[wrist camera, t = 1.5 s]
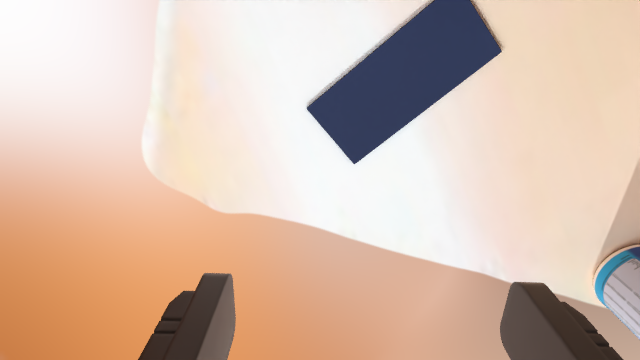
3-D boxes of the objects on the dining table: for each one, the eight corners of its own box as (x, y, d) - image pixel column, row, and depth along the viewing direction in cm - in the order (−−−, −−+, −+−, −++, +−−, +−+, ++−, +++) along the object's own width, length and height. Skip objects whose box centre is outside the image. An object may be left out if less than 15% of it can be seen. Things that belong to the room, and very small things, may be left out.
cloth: (456, -19, 31) (458, -19, 31) (500, 51, 33) (502, 51, 33) (306, 107, 35) (306, 108, 35) (354, 163, 37) (354, 164, 37)
